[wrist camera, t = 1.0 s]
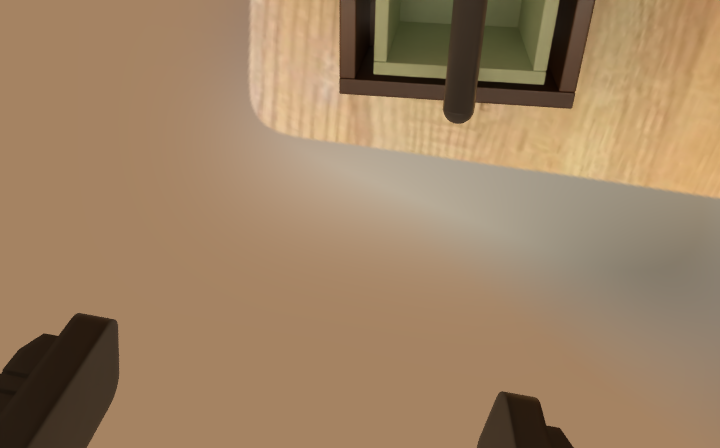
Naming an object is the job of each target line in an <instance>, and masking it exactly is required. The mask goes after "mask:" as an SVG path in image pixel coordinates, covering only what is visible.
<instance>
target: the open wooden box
mask: <svg viewBox="0 0 720 448" xmlns="http://www.w3.org/2000/svg"><path fill="white" fill-rule="evenodd" d="M594 4H595V0H560V1H559V6H558V12H557V17H556V23H555V28H554V33H553V39H552V44H551V49H550V55H549V60H548V65H547V70H546V76H545V82H544V84H543V85H540V84H524V83H508V82H491V81H478V84H477V92H476V100H475V102H477V103H493V104H508V105H523V106H539V107H554V108H570V109H571V108H572V106H573V102H574V97H575V91H576V87H577V82H578V78H579V73H580V68H581V64H582V59H583V55H584V50H585V45H586V41H587V36H588V32H589V27H590V22H591V18H592V13H593V9H594ZM375 9H376V0H340V94H354V95H370V96H385V97H401V98H416V99H431V100H444V92H445V82H446V79H442V78H426V77H410V76H394V75H377V74H374V73H373V72H374V41H375Z"/></svg>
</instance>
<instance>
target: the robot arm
mask: <svg viewBox="0 0 720 448" xmlns="http://www.w3.org/2000/svg"><path fill="white" fill-rule="evenodd" d="M118 379H119V348H118V324H117V321H116V320H114V319H109V318H104V317H98V316H93V315H87V314H81V313H77V314H76V315H74V316H73V318H72V319H71V320H70V321H69V323H68V324H67V325H66V327H65V328H64V329H63V331H62V332H61V333H60V335H59V336H55V335H50V334H42V335H41V336H39V337H38V338H36V339H34V340H33V341H31V342H30V343H28V344H27V345H25V346H24V347H22V348H21V349H19V350H18V351H17V353H16V354H15V355H14V356H13V358H12V359H11V360H10V361H9V362H8V364H7V365H6V366H5V367H4V369H3V372H2V374H0V448H87V446H88V444H89V442H90V440H91V439H92V437H93V435H94V433H95V432H96V430H97V428H98V426H99V424H100V422H101V421H102V419H103V417H104V415H105V413H106V412H107V410H108V408H109V406H110V404H111V402H112V400H113V398H114V395H115V392H116V389H117V384H118ZM477 448H574V447H573V446H572V445H571V443H570V442H569V441H568V439H567V438H566V436H565V435H564V433H563V432H562V431H561V429H560V428H557V427H551V426H546V424H545V420H544V416H543V412H542V408H541V404H540V402H539V400H538V399H537V398H535V397H530V396H524V395H518V394H513V393H508V392H500V393H499V394H498V396H497V398H496V400H495V402H494V405H493V407H492V410H491V412H490V414H489V417H488V419H487V421H486V424H485V426H484V429H483V431H482V433H481V436H480V438H479V441H478V445H477Z"/></svg>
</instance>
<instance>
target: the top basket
mask: <svg viewBox="0 0 720 448" xmlns="http://www.w3.org/2000/svg"><path fill="white" fill-rule="evenodd" d="M559 1H560V0H376V9H375V41H374V72H373V73H374V74H377V75H394V76H410V77H426V78H442V79H446V82H445V92H444V103H443V112H444V115H445V117H446V118H447V119H448V120H449V121H450V122H453V123H456V124H460V123H464V122H466V121H468V120H469V119H470V118H471V116H472V115H473V113H474V107H475V100H476V92H477V84H478V81H491V82H508V83H524V84H540V85H543V84H544V82H545V76H546V70H547V65H548V60H549V55H550V49H551V44H552V39H553V33H554V28H555V23H556V17H557V12H558V6H559Z"/></svg>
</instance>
